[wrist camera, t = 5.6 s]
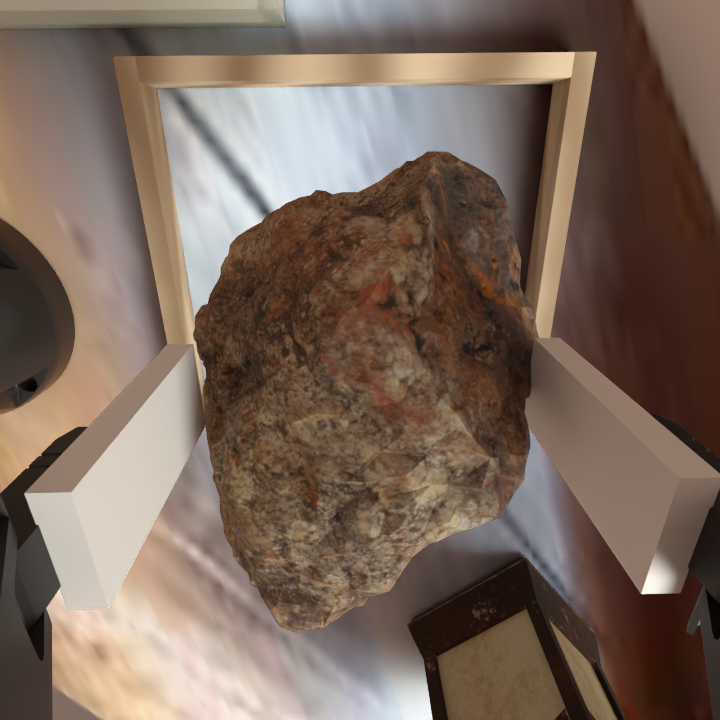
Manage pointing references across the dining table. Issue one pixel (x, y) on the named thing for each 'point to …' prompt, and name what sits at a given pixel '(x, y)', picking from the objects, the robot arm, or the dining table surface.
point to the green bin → (140, 14)
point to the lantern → (512, 654)
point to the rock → (366, 383)
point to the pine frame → (209, 71)
